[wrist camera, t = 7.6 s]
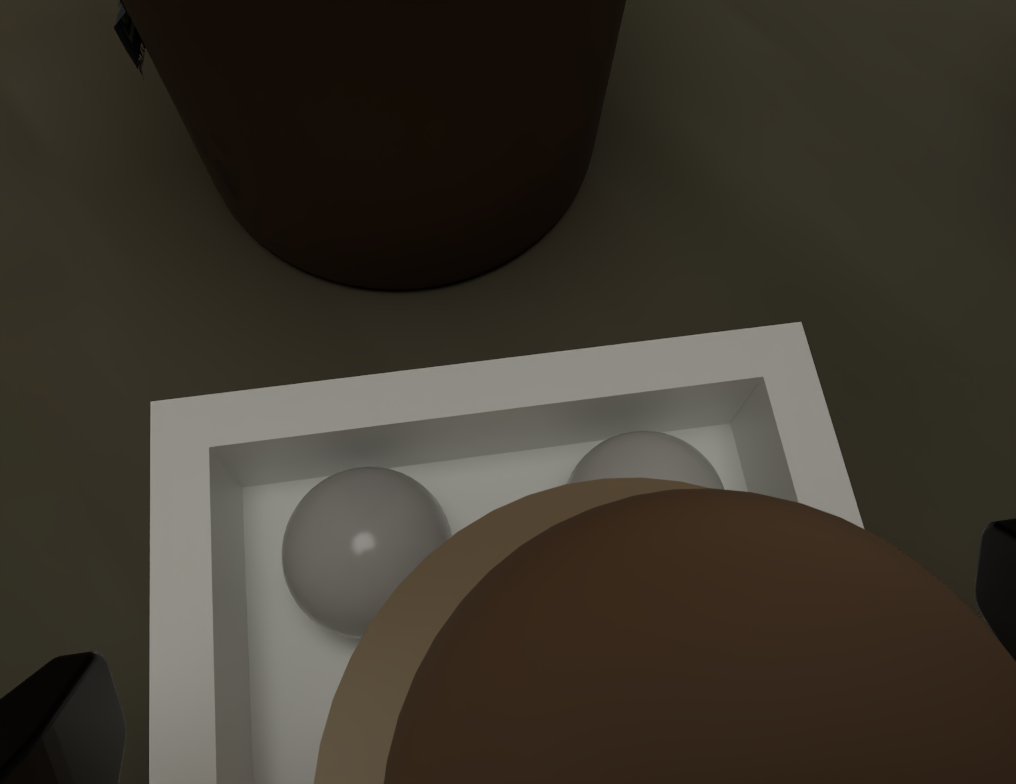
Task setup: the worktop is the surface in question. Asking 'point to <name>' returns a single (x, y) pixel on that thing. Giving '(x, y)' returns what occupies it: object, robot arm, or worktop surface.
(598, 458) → the pebble
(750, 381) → the bin
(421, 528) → the pebble
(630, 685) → the pepper mill
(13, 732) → the robot arm
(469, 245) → the olive oil
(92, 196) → the worktop surface
